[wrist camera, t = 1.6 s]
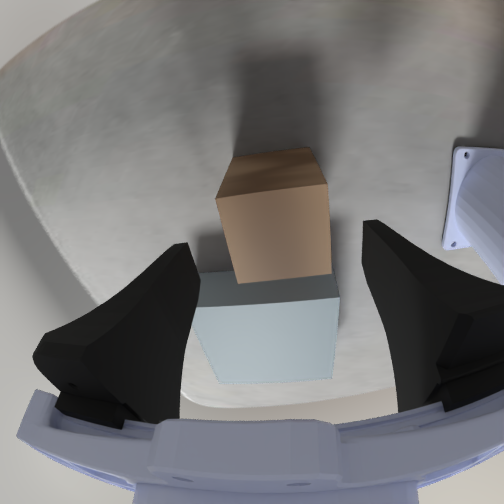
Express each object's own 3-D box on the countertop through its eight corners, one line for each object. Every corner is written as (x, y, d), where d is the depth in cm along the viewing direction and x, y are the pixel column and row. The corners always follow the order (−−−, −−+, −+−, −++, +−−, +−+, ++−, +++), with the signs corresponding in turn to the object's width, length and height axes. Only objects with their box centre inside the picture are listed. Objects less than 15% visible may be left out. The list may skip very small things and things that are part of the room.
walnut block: (309, 147, 16) (327, 184, 11) (316, 214, 18) (331, 273, 13) (232, 157, 17) (215, 198, 12) (246, 223, 19) (237, 283, 14)
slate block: (330, 259, 21) (339, 297, 17) (327, 343, 26) (332, 378, 23) (196, 270, 22) (184, 307, 19) (224, 349, 28) (219, 383, 24)
